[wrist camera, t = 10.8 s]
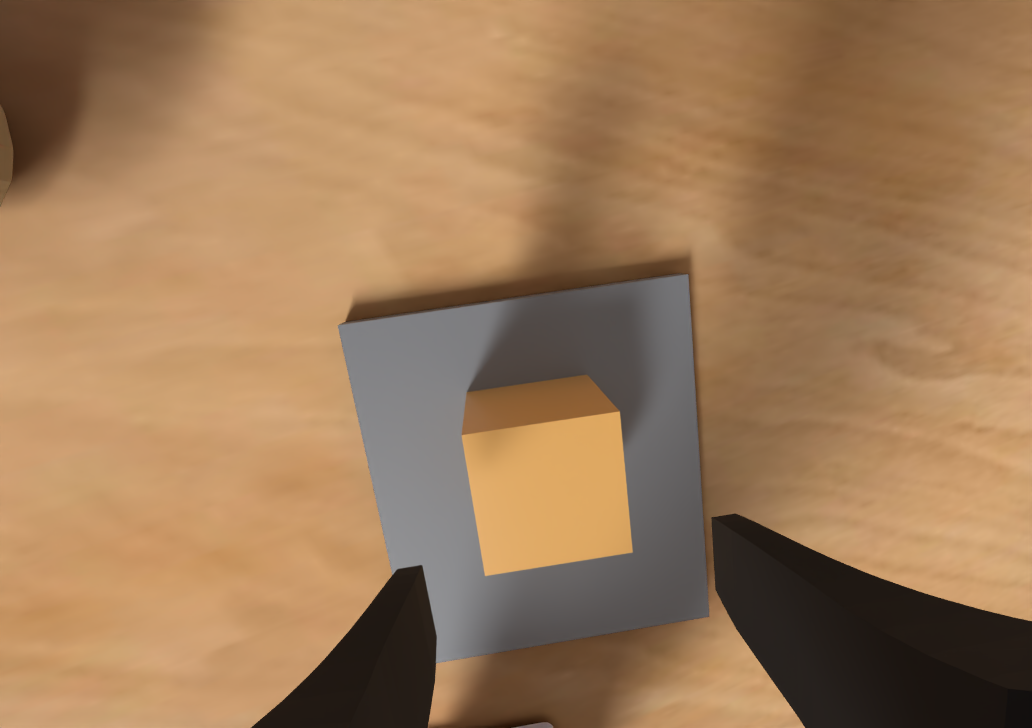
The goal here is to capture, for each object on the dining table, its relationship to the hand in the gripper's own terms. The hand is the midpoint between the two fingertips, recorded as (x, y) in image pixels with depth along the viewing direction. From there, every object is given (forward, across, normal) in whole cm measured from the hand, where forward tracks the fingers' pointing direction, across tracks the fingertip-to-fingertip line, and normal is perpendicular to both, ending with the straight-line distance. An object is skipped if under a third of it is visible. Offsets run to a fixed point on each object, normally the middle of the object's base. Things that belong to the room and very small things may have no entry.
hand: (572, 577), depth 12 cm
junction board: (+10, 0, +2) cm, 10 cm away
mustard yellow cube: (+9, 0, 0) cm, 9 cm away
